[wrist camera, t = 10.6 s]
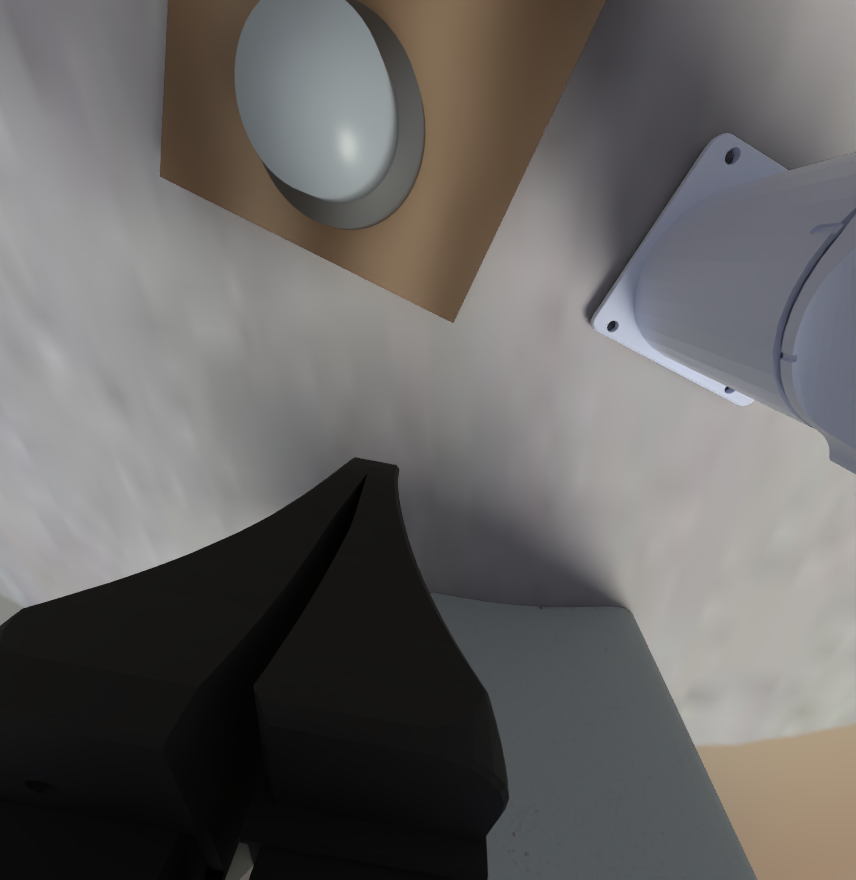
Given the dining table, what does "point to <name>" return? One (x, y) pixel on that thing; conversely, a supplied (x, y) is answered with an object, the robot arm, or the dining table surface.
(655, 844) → the grey upright box
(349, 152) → the slate button
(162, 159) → the button board
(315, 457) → the dining table surface
